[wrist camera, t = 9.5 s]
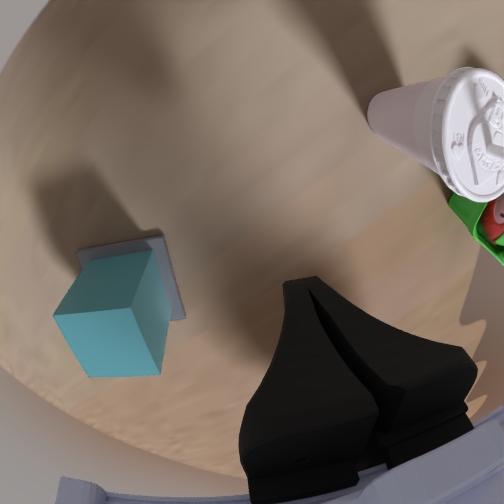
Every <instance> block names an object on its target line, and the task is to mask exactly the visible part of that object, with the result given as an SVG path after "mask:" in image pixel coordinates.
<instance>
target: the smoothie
mask: <svg viewBox="0 0 504 504" xmlns="http://www.w3.org/2000/svg"><path fill="white" fill-rule="evenodd" d="M367 118H368V123H369V126H370V128H371V130H372V131H373V133H374V134H375V135H376V136H377V137H378V138H380V139H382V140H383V141H385V142H387V143H389V144H390V145H392V146H394V147H396V148H397V149H399V150H401V151H403V152H404V153H406V154H408V155H409V156H411V157H412V158H414V159H416V160H417V161H419V162H421V163H422V164H424V165H425V166H427V167H428V168H430V169H431V170H433V171H434V172H436V173H437V174H439V175H440V176H441V178H442V179H443V181H444V182H445V183H446V185H447V186H448V187H449V188H450V189H451V190H453V191H454V192H455V193H457V194H458V195H460V196H464V197H466V198H468V199H470V200H472V201H475V202H488V201H491V200H494V199H495V198H497V197H499V196H500V195H501V194H502V193H503V192H504V81H503V80H502V79H501V78H500V77H499V76H498V75H497V74H495V73H493V72H492V71H489V70H487V69H480V68H472V67H463V68H457V69H456V70H454V71H453V72H451V73H450V74H448V75H447V76H446V77H443V78H438V79H434V80H429V81H424V82H420V83H415V84H411V85H407V86H403V87H399V88H395V89H391V90H387V91H383V92H380V93H378V94H377V95H375V96H374V97H373V98H372V100H371V101H370V103H369V106H368V110H367Z"/></svg>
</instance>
